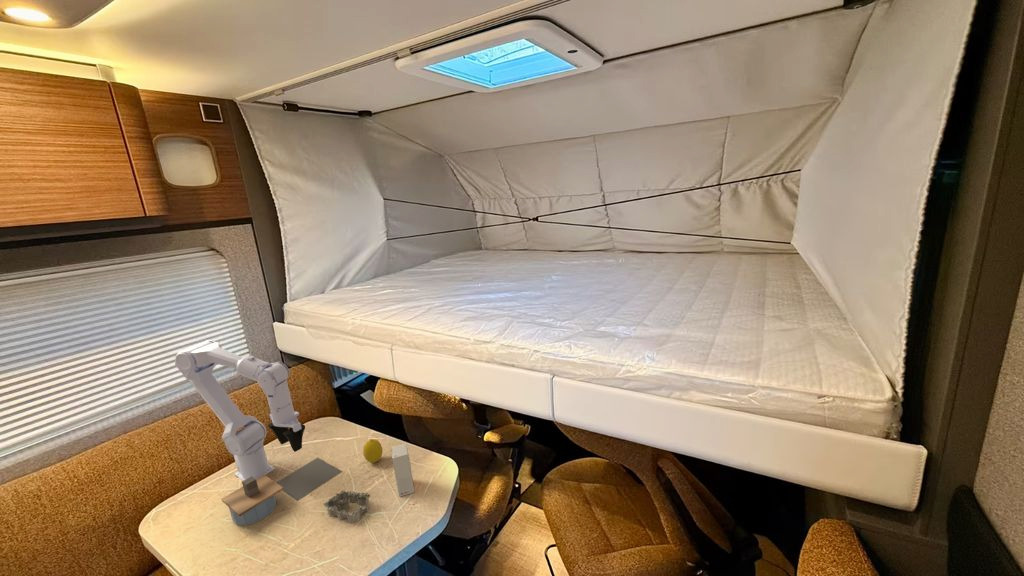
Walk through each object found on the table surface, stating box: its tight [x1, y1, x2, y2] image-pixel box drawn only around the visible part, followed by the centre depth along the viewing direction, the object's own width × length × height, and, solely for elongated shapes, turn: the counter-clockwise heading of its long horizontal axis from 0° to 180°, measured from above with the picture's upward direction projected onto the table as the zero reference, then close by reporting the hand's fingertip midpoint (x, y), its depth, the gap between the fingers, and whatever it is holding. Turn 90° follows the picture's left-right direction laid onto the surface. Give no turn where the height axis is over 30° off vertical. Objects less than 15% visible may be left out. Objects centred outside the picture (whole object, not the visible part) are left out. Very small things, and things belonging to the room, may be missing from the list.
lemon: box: [363, 438, 383, 464], centre depth 129 cm, size 6×6×8 cm
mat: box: [275, 457, 343, 502], centre depth 125 cm, size 14×14×1 cm
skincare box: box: [391, 443, 415, 497], centre depth 116 cm, size 6×4×12 cm
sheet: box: [220, 475, 283, 516], centre depth 112 cm, size 11×11×5 cm
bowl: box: [228, 494, 277, 526], centre depth 113 cm, size 10×10×5 cm
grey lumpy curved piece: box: [323, 489, 371, 524], centre depth 110 cm, size 11×8×4 cm
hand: (291, 446), depth 124 cm, fingers open, 7 cm apart
